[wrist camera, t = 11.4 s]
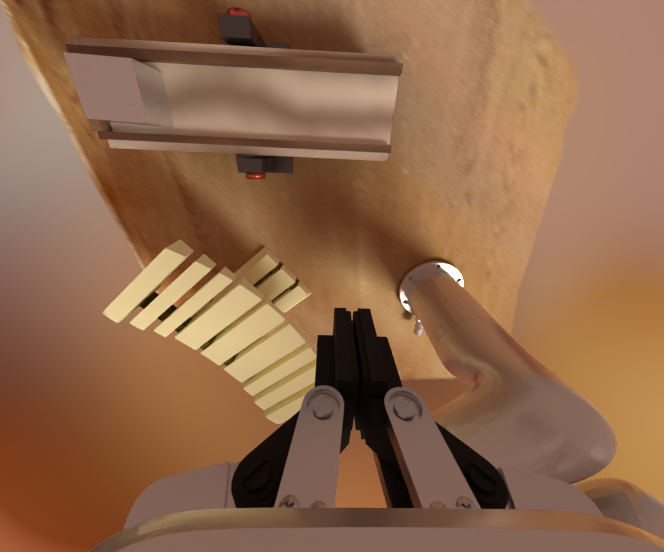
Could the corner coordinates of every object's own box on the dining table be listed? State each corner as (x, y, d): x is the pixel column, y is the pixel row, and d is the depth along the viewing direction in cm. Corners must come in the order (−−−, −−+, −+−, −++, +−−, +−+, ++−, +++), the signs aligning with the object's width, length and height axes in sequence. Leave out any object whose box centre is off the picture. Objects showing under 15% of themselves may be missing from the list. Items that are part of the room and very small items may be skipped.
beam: (380, 160, 33) (389, 161, 28) (135, 148, 32) (99, 147, 27) (392, 68, 28) (405, 49, 23) (106, 51, 28) (55, 29, 22)
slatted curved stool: (175, 263, 45) (91, 323, 29) (229, 210, 40) (165, 248, 24) (284, 352, 56) (267, 430, 40) (337, 318, 51) (340, 392, 36)
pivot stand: (293, 174, 38) (283, 181, 30) (242, 172, 37) (219, 178, 29) (288, 44, 30) (274, 5, 22) (226, 40, 30) (189, 0, 22)
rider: (174, 127, 28) (147, 123, 24) (121, 123, 27) (86, 118, 23) (162, 72, 25) (131, 58, 21) (105, 67, 25) (62, 52, 21)
